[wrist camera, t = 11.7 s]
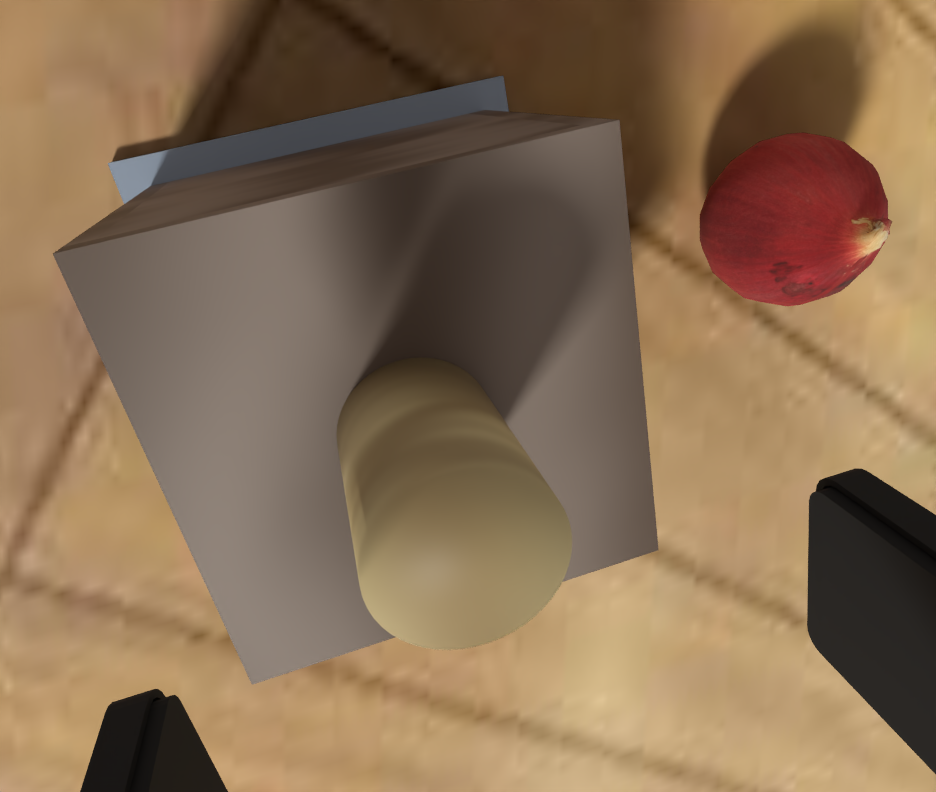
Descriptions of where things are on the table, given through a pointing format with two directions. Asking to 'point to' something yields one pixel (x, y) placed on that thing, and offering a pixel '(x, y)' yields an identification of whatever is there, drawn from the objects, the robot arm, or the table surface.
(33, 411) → the table surface
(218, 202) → the cover
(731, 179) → the onion
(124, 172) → the mat
